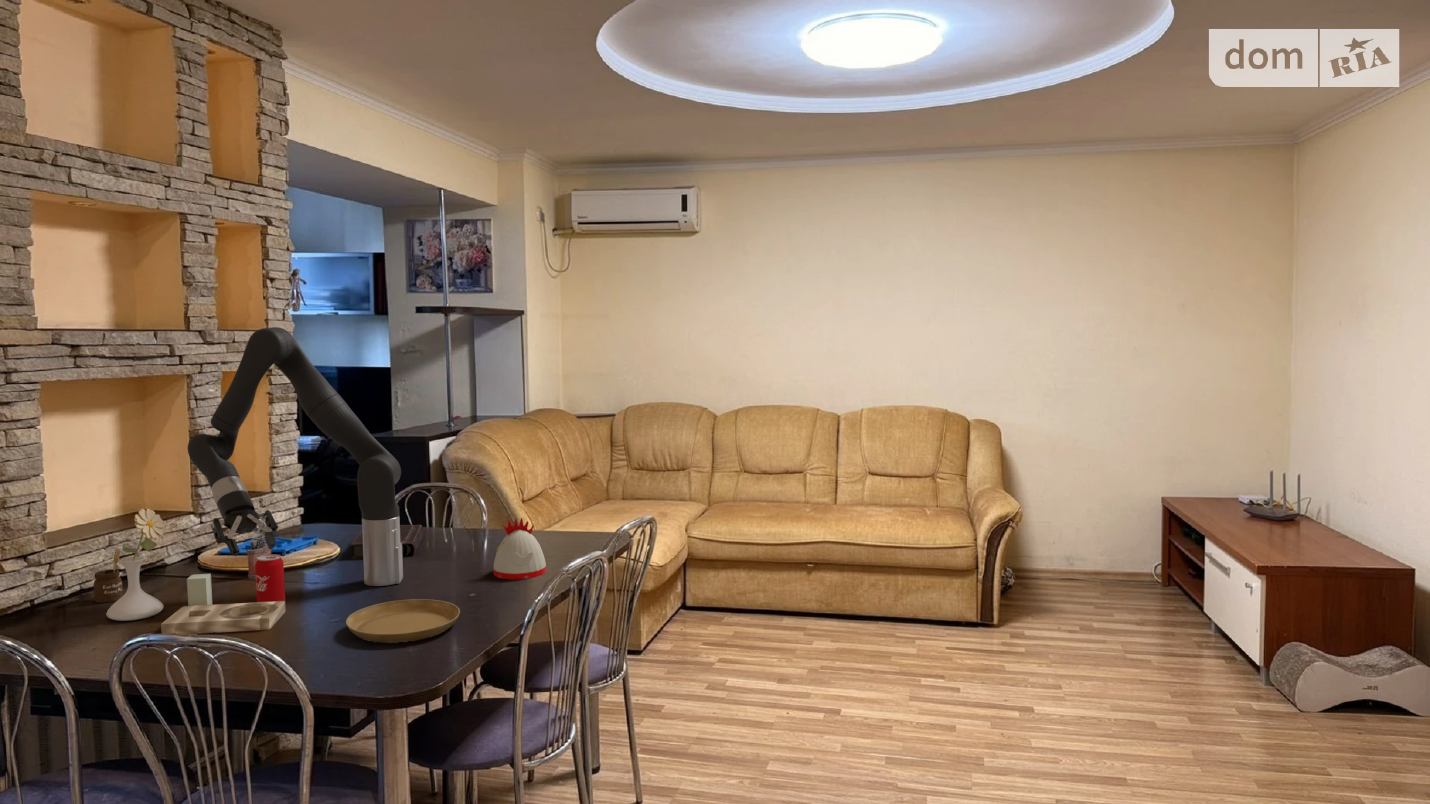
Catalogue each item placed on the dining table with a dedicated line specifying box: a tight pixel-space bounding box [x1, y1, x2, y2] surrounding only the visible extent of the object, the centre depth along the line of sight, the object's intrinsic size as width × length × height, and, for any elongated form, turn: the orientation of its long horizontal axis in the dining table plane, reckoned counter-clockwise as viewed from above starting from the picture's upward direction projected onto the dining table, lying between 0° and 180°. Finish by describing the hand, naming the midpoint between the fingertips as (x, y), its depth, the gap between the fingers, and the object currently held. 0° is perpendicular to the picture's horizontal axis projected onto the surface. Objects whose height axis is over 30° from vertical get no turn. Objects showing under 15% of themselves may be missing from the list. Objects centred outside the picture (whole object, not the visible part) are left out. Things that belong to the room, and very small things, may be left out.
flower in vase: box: [105, 508, 166, 622], centre depth 223 cm, size 13×11×25 cm
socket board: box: [160, 600, 286, 635], centre depth 217 cm, size 22×13×3 cm, turn 100°
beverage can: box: [255, 553, 286, 602], centre depth 231 cm, size 6×6×12 cm
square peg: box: [186, 573, 213, 606], centre depth 225 cm, size 4×4×9 cm
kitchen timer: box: [493, 517, 547, 580], centre depth 260 cm, size 14×14×15 cm
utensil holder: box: [92, 548, 123, 604], centre depth 237 cm, size 6×6×12 cm
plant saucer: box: [345, 598, 461, 644], centre depth 214 cm, size 24×24×3 cm
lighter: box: [246, 536, 272, 579], centre depth 259 cm, size 8×3×10 cm, turn 168°
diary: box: [349, 524, 424, 560], centre depth 289 cm, size 19×25×5 cm
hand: (255, 550), depth 235 cm, fingers open, 8 cm apart
